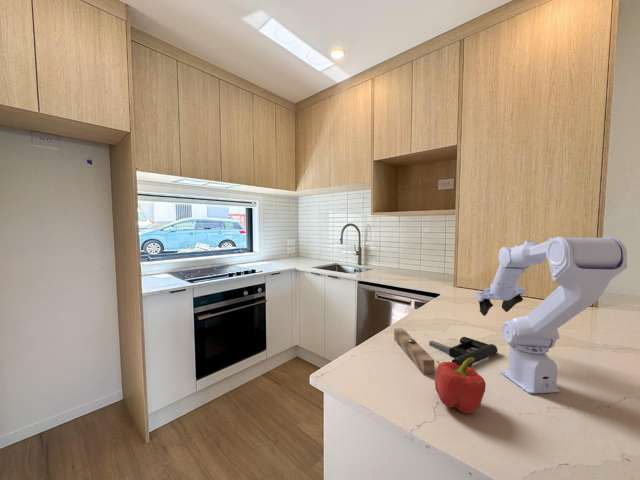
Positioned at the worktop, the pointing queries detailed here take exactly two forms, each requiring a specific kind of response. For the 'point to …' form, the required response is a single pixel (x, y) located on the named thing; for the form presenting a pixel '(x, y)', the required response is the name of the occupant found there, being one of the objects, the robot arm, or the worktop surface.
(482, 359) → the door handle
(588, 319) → the worktop surface
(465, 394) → the vegetable
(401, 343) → the bar
